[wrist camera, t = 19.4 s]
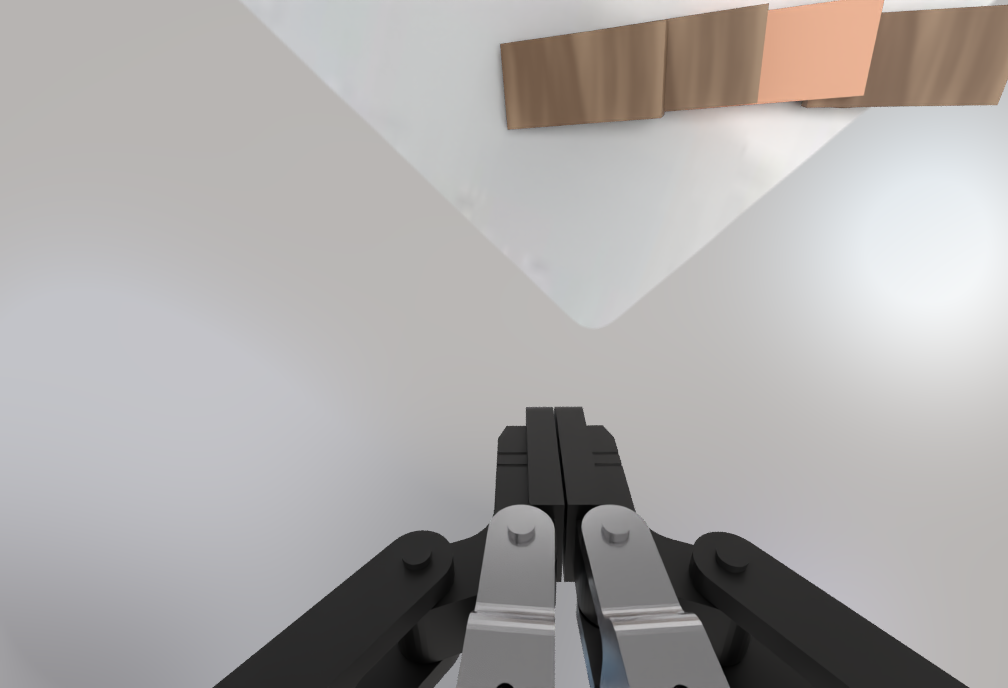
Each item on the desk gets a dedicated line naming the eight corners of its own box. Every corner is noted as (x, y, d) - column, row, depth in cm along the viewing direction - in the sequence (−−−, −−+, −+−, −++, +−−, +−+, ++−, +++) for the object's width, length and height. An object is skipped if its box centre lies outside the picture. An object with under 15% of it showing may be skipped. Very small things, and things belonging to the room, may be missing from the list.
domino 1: (507, 129, 33) (661, 117, 30) (500, 44, 31) (665, 20, 27) (517, 126, 35) (664, 114, 31) (511, 44, 33) (668, 22, 29)
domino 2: (591, 118, 33) (757, 102, 30) (589, 31, 31) (768, 3, 27) (597, 115, 35) (754, 100, 31) (595, 32, 32) (765, 6, 29)
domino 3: (685, 109, 33) (863, 95, 29) (691, 20, 30) (885, -6, 27) (686, 108, 34) (855, 94, 31) (692, 23, 32) (875, -2, 29)
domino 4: (806, 107, 32) (997, 105, 29) (828, 16, 30) (1038, 2, 27) (801, 106, 34) (980, 103, 31) (821, 19, 31) (1018, 7, 28)
